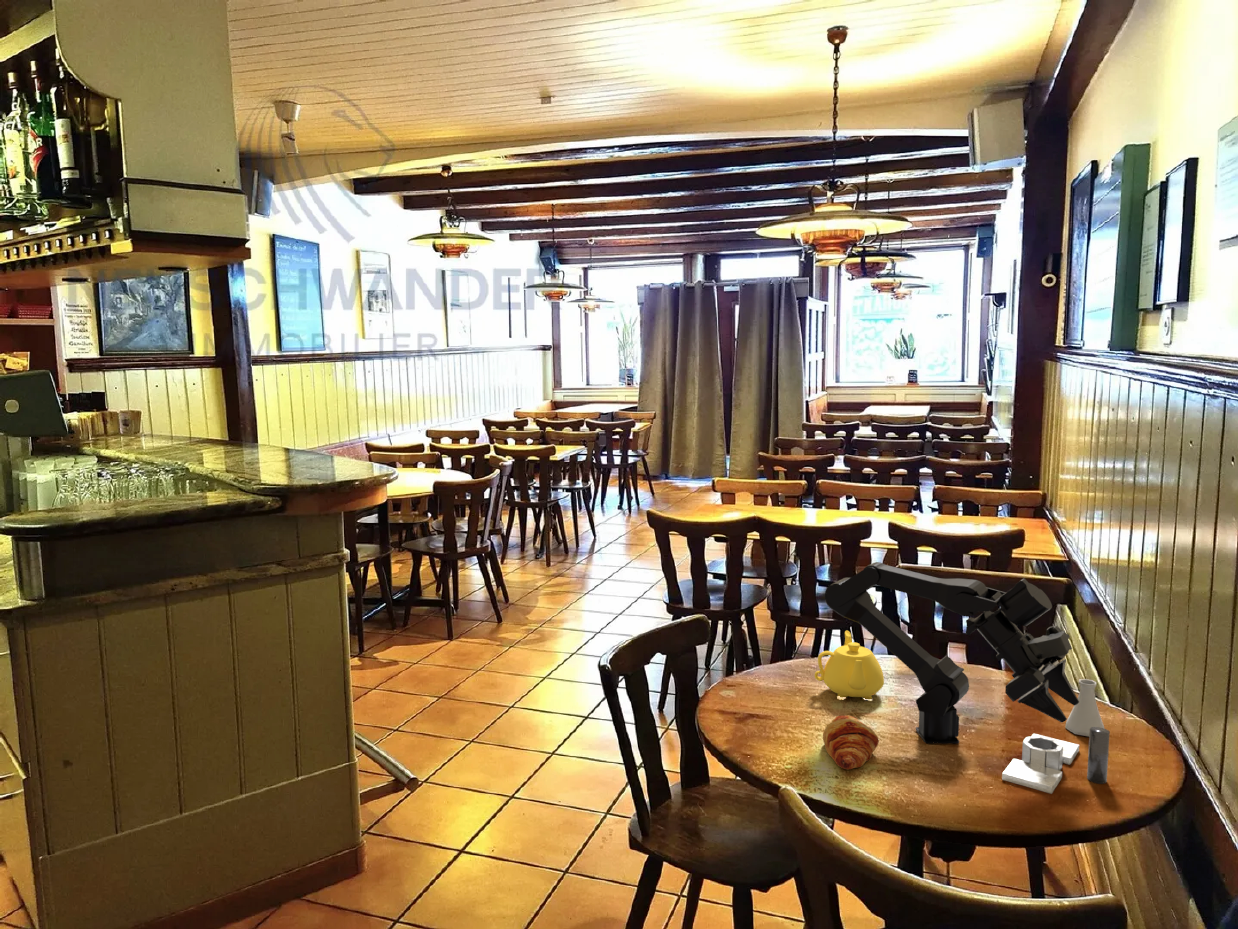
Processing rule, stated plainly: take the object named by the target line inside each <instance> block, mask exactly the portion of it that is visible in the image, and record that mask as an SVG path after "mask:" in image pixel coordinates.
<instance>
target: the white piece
mask: <svg viewBox="0 0 1238 929" xmlns="http://www.w3.org/2000/svg"><path fill="white" fill-rule="evenodd" d="M1079 752H1080V744H1078V743H1073V742H1069V741H1066V740H1061V739H1057V738H1053V737H1050V736H1045V735H1042V734H1038V733H1032V735H1031V736H1026V737H1025V738H1024V739H1023V741H1022V752H1021V759H1018V758H1012V760H1011V762H1010V763H1009V764H1008V765H1007V767H1005V769H1004V770H1003V772H1002V774H1001V780H1002V781H1006V782H1009V783H1011V784H1012V783H1013V784H1016V785H1020V786H1023V787H1027V788H1031V789H1034V790H1037V791H1040V792H1044V793H1047V794H1051V795H1052V794H1053V793H1054V791H1055V789H1056V788H1057V787H1058V785H1059V783H1060V781H1061V780H1062V778H1063V771H1061V770H1062V768H1063V764H1066V765H1070V766H1071V764H1072V763H1073V761H1074V759H1075V758H1076V756H1077V755H1078V753H1079Z"/></svg>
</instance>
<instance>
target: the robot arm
mask: <svg viewBox="0 0 1238 929" xmlns="http://www.w3.org/2000/svg"><path fill="white" fill-rule="evenodd" d="M874 586H878V587H882V588H886V589H888V590H889V589H890V590H894V591H897V592H900V593H905V594H909V595H913V596H915V597H920V598H924V599H927V600H931V601H933V602H936V603H937V604H939V605H940V606H941V607H943V608H944V609H946V610H949V611H951V612H953V613H954V614H957V615H959V616H962V617H969V618H967V619H966V621H965V623H966V628H965V635H967V636H970V635H971V634H972V633H974V632H975V631H976V630H977V631H978V632H979V634H980V635H981V636H982V637H983V638H984V639H985V640H986V642H987V643H988V644H989V645H990V646H991V648H992V649H993V650H995V652H996V653H997V654H996V655H995V658H996V659H997V660H998V661H999V662H1000V661H1002V660H1003V661H1004V662H1005V663H1006V664H1007V666H1008V667H1009V668H1010V669H1011V670H1012V671H1013V673H1012V674H1011V676H1012V677H1013V678H1012V679H1011V680H1010V681H1009V682H1008V683H1007V684H1006V685H1005V692H1004V693H1005V694H1006V695H1007V697H1009V699H1010V701H1011V702H1015V701H1017V703H1019V704H1023V705H1025V706H1028V707H1030V708H1032V709H1034V710H1036V711H1039V712H1041V713H1043V715H1046V716H1048V717H1050V718H1053V719H1054V720H1056V721H1057V722H1059V723H1065V721H1067V719H1068V718H1067V716H1066V715H1065V714H1064V711H1063V710H1062V709H1061V707H1060V706H1059V705H1058V703H1057V701H1056V700H1055V699H1054V698H1053V696H1052V694H1051V693H1050V692H1049V691H1051V692H1053V693H1054V694H1056V695H1058V696H1059V697H1061V699H1064V700H1065V701H1066V702H1068V703H1069V704H1071V705H1072V706H1074V705H1077V704H1078V703H1079V700H1078V697H1077V695H1076V693H1075V691H1074V689H1073V687H1072V685H1071V683H1070V681H1069V680H1068V677H1067V675H1066V671H1065V670H1066V663H1067V659H1066V658H1065V657H1066V656H1067V655H1068V654H1069V653H1070V652H1069V651H1070V650H1072V649H1073V647H1072V645H1071V642H1070V640H1069V639H1070V634H1068V633H1067V632H1066V630H1062V629H1061V628H1060V627H1059V626H1058V625H1054V626H1049V627H1048V628H1047V629H1045V631H1046V632H1045V635H1044V634H1043V635H1042V636H1040V637H1034V636H1033V635H1032V634H1031V633H1028V632H1026V633H1023V632H1022V631H1021V630H1020V628H1018V626H1019V625H1020V626H1022V627H1027V626H1028V625H1030V624H1031V623H1033V622H1034V621H1036V620H1037V619H1039V618H1040V617H1042V615H1044V614H1045V613H1048V611H1050V610H1051V609H1052V608H1053V605H1052V602H1051V600H1050V598H1049V597H1048V595H1047V594H1046V593H1045V592H1044V591H1043V590H1042V589H1041V588H1038V587H1037V586H1036V585H1034V584H1032V583H1030V582H1028V580H1027V579H1026V578H1022V579H1020V580H1019V581H1018V582H1017V583H1015V585H1013V587H1012V588H1010V589H1009V590H1007V591H1006V592H1005V591H1001V590H997V589H996V588H995V589H994V588H991V587H987V586H986V584H985V583H983V582H982V581H980V580H978V579H968V578H940V577H935V576H931V575H927V574H923V573H920V572H916V571H911V570H907V569H904V568H899V567H895V566H891V565H887V564H885V563H883V562H880V561H876V562H873V563H871V564H868V565H866V566H865V567H864V568H863V569H862V570H861V571H859V572H858V573H856V574H855V575H853V576H850V577H843V578H841V579H839V580H837V581H835V582H833V583H831V584H830V585H828V587H826V589H825V591H824V601H825V604H826V606H828V608H829V609H831V610H832V611H834V612H835V613H837V614H838V615H840V616H841V617H842V618H846V619H848V620H850V621H853V622H856V623H858V624H859V625H860V626H862V627H863V628H864V629H865V630H866V631H867V632H868V633H870V635H871V636H872V637H874V638H875V639H876V640H877V641H878V642H880V643H881V644H882V645H883V646H884V648H886V649H887V650H888V651H890V652H891V654H893V655H894V657H896V658H897V659H898V660H900V661H901V663H903V664H904V666H906V667H908V669H909V670H910V671H912V672H913V674H914V675H915V676H916V678H917V680H918V682H919V684H920V686H921V688H922V690H923V691H924V692H923V693H922V694H921V695H919V696H918V698H917V699H916V700H915V704H916V706H917V709H918V726H916V727H915V731H916V732H917V734H918V735H919V736H920V738H921V739H922V741H923V742H924V743H925V744H927V745H928V744H936V745H937V744H941V745H942V744H952V745H953V744H959V743H960V740H959V738H958V737H959V733H960V732H959V731H960V716H959V715H958V709H957V708H956V707H955V705H957V704H958V703H959V701H960V700H962V699H963V697H964V696H965V695H966V694H967V693H968V692H969V689H970V682H969V678H968V676H967V675H966V674H965V672H964V671H965V669H964V667H960V666H959V665H957V664H956V663H955V662H954V661H953V659H952V658H951V657H949V656H948V655H944V657H942V658H940V659H939V658H937V657H936V656H935V657H934V656H933V655H931V654H930V653H929V652H928V651H927V650H925V649H924V648H923V647H922V646H921V645H920V644H918V642H916V641H915V640H914V639H913V638H912V637H911V636H909V635H908V634H907V633H906V632H905V631H904V630H903V629H901V628H900V627H899V626H898V625H897V624H896V623H895V622H894V621H893V620H891V619H890V618H889V617H888V616H887V615H885V614H884V613H883V612H882V611H881V610H880V609H879V608H877V607H876V604H875V603H874V601H873V599H872V596H871V595H870V593H869V592H868V590H870V589H871V588H873V587H874ZM997 606H999V608H998V609H997V610H996V611H994V612H993V611H992V610H993V609H994V608H995V607H997ZM981 612H982V613H981ZM978 613H981V614H980V615H978V616H977V617H973V616H974V615H976V614H978ZM1059 661H1060V662H1059Z"/></svg>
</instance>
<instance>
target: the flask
mask: <svg viewBox="0 0 1238 929" xmlns="http://www.w3.org/2000/svg"><path fill="white" fill-rule="evenodd" d="M1078 684H1079V693H1078V697H1077V698H1078V700H1079V703H1078V704H1077V705H1073V707H1072V709H1071V712H1070V714H1069V715H1068V718H1067V720H1066V722H1065V726H1064V727H1065V729H1066V730H1068V731H1070V732H1071V733H1073V734H1074V735H1079V736H1083V737H1084V736H1085V737H1089V734H1090V728H1091V727H1101V728H1104V729H1106V728H1105V725H1104V722H1103V720H1102V717H1101V714H1100V711H1099V708H1098V704H1097V701H1096V695H1095V688H1097V681H1095V680H1093V679H1087V678H1082V679H1081V678H1079V679H1078Z"/></svg>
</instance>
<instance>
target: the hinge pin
mask: <svg viewBox="0 0 1238 929" xmlns="http://www.w3.org/2000/svg"><path fill="white" fill-rule="evenodd" d="M1104 728H1105V727H1104ZM1104 728H1101V727H1091V728H1090V734H1089V736H1088V738H1089V740H1088V753H1087V754H1088V756H1087V770H1086V771H1087V772H1086V774H1087V776H1086V779H1087V780H1088V781H1089V782H1091V783H1094V784H1098V785H1104V784H1106V783H1108V779H1107V778H1108V767H1109V766H1108V764H1109V748H1110V747H1109V746H1110V730H1109V729H1107V728H1105V729H1104Z"/></svg>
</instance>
